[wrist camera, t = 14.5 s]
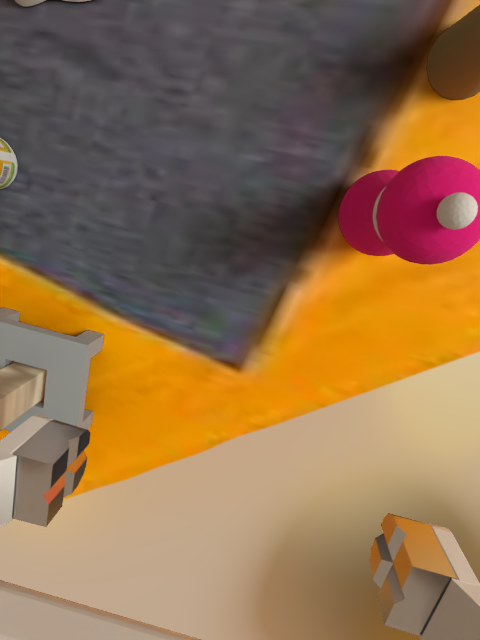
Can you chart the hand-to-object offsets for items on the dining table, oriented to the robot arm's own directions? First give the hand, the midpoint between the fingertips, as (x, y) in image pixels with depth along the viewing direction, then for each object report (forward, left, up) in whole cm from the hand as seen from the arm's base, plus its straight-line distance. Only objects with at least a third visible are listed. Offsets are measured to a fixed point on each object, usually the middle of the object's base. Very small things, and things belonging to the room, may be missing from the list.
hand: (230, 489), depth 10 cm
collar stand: (-12, -26, -31) cm, 42 cm away
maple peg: (-12, -26, -31) cm, 42 cm away
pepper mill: (+2, +12, -31) cm, 34 cm away
